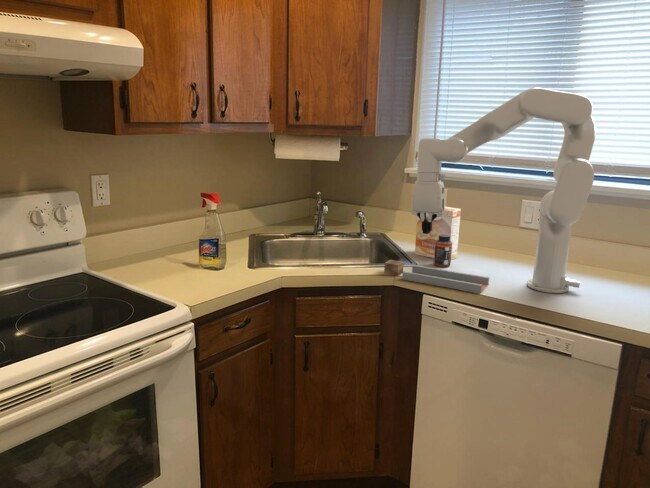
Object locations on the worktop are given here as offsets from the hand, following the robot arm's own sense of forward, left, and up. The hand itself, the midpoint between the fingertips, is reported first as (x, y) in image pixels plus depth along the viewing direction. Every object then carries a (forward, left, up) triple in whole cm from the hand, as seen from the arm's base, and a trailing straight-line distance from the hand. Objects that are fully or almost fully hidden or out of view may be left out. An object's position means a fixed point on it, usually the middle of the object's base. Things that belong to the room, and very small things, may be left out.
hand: (426, 232), depth 178 cm
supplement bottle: (-1, -19, -16) cm, 25 cm away
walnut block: (+11, 0, -16) cm, 19 cm away
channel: (-8, 0, -16) cm, 17 cm away
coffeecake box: (+6, -30, -16) cm, 34 cm away
